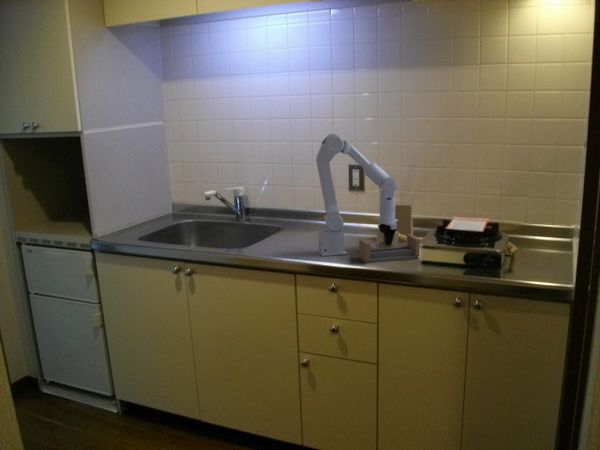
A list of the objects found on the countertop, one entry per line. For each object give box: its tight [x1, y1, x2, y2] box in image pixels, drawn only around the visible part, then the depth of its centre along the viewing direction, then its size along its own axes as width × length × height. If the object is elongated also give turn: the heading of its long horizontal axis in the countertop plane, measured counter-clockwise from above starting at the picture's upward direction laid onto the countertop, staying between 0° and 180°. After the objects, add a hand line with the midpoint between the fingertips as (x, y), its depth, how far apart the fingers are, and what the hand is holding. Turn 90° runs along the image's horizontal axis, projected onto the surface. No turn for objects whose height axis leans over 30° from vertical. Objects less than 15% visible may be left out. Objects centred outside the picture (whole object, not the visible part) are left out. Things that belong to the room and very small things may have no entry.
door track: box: [358, 234, 421, 264], centre depth 205 cm, size 20×8×7 cm, turn 101°
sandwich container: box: [395, 204, 414, 242], centre depth 234 cm, size 9×15×15 cm, turn 165°
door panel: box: [375, 231, 399, 249], centre depth 215 cm, size 8×2×6 cm, turn 101°
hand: (387, 244), depth 216 cm, fingers closed on door panel, 2 cm apart
